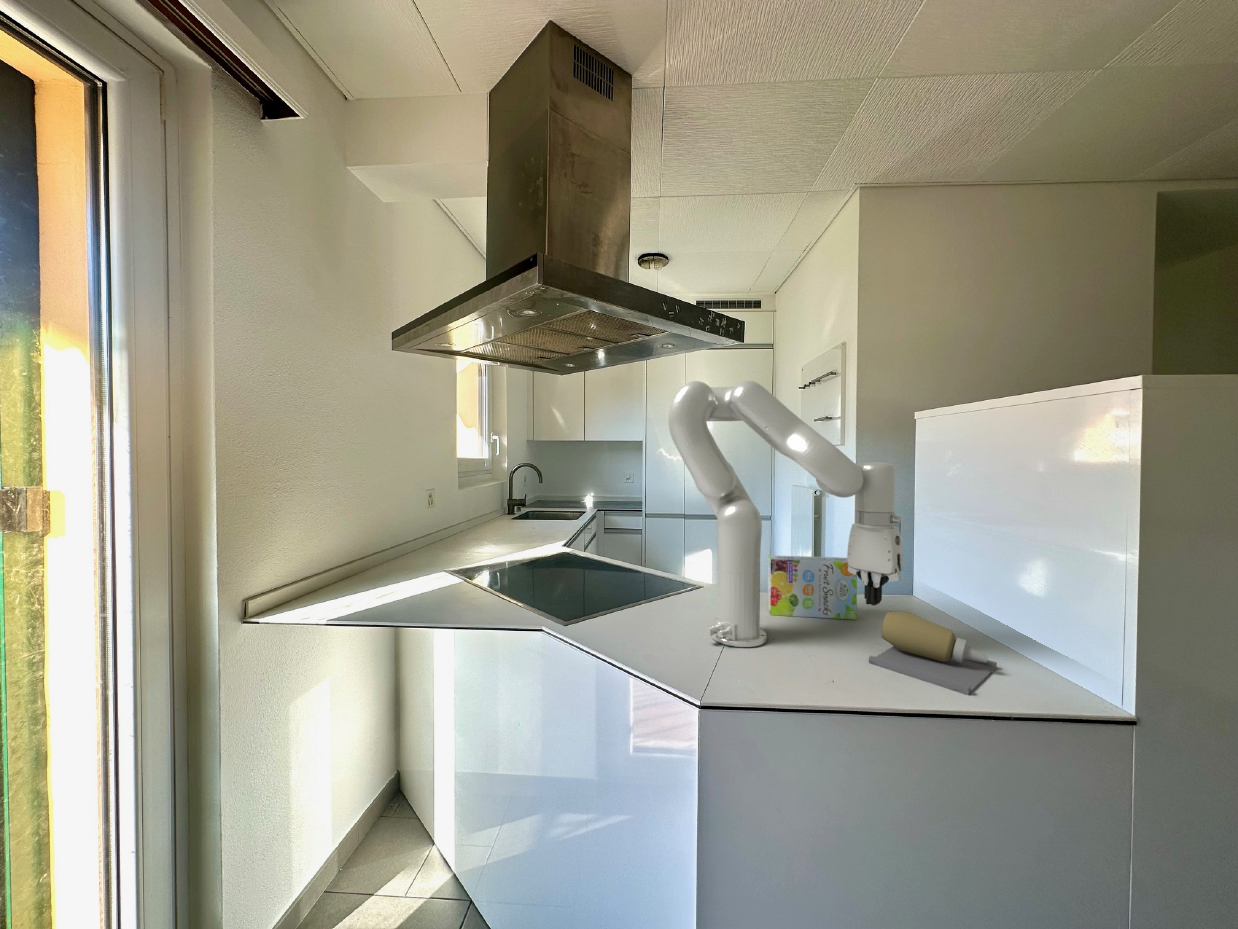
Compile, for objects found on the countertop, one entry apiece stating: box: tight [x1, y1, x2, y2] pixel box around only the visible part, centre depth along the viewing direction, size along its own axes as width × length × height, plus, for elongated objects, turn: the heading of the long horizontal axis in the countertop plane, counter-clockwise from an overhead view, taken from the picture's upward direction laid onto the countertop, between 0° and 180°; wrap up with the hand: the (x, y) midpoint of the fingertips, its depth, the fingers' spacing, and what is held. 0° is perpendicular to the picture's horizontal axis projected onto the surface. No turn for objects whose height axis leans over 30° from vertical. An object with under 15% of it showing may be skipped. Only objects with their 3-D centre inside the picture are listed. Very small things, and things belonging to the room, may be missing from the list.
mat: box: [868, 645, 998, 696], centre depth 98 cm, size 17×17×1 cm
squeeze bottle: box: [880, 611, 989, 663], centre depth 100 cm, size 8×8×18 cm
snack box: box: [767, 554, 858, 621], centre depth 128 cm, size 21×6×15 cm, turn 80°
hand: (872, 603), depth 106 cm, fingers closed
